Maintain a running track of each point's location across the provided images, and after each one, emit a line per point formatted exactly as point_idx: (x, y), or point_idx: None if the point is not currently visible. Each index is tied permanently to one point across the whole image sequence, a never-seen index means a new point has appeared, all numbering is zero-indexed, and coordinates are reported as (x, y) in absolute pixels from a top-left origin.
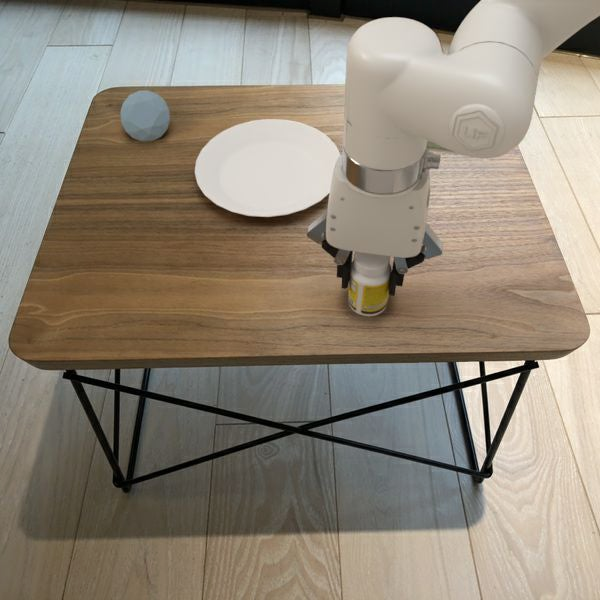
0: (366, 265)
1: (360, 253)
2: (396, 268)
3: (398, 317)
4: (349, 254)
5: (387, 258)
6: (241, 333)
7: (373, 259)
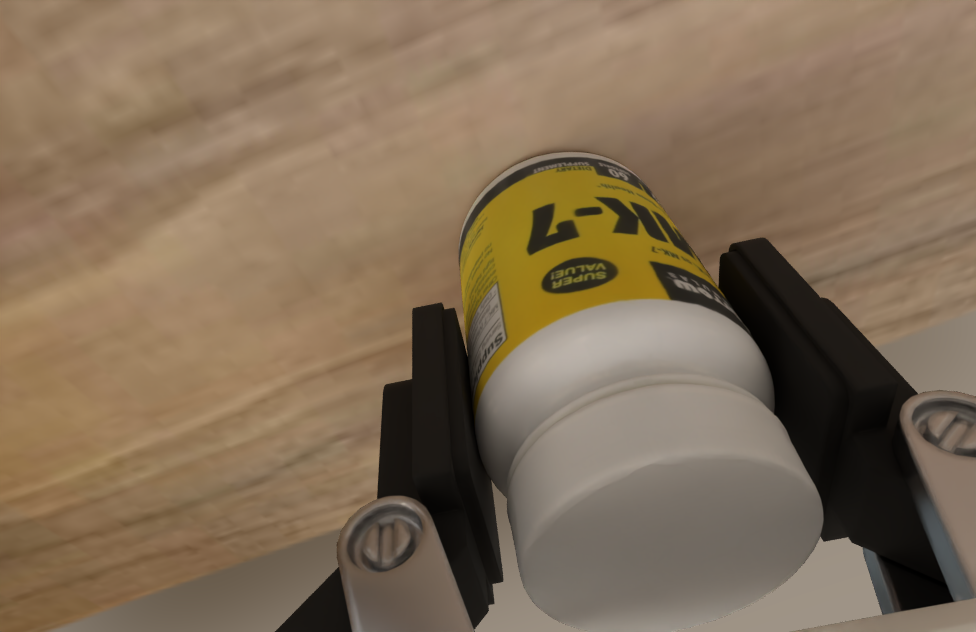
0: (644, 627)
1: (572, 576)
2: (871, 574)
3: (719, 264)
4: (473, 549)
5: (802, 537)
6: (142, 534)
7: (689, 581)
